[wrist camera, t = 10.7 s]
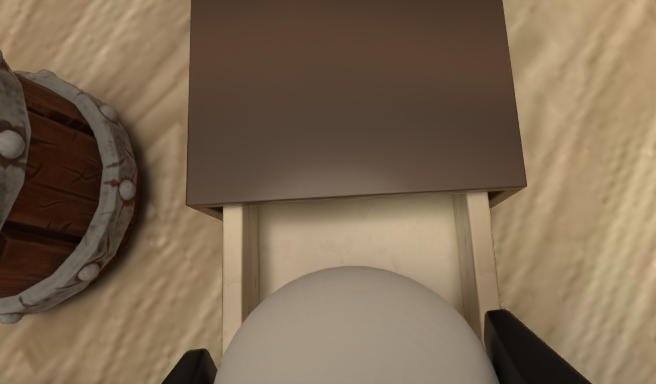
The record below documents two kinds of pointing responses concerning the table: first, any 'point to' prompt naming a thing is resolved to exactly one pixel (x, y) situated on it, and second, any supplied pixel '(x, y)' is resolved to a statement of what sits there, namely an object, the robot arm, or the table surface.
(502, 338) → the robot arm
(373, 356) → the light bulb
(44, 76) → the mug
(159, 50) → the table surface
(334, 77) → the cabinet
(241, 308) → the drawer
